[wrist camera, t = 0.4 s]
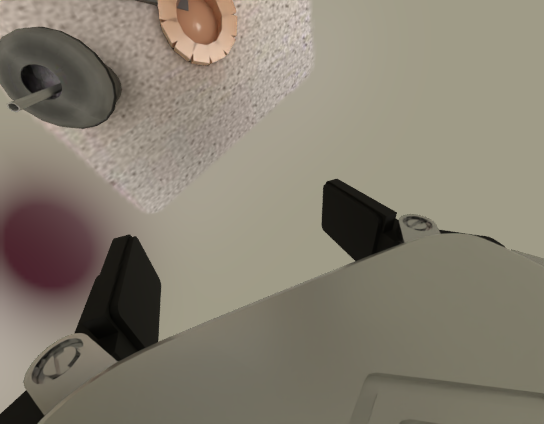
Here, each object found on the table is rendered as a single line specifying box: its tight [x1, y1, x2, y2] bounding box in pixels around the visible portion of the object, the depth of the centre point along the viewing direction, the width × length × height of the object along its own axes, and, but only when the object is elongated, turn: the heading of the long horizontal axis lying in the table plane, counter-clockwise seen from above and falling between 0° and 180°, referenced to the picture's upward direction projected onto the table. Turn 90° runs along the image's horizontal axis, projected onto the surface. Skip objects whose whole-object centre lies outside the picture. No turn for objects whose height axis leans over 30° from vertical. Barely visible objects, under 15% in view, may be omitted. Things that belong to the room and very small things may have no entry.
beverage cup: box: [0, 27, 122, 129], centre depth 19 cm, size 7×7×20 cm
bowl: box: [158, 0, 237, 66], centre depth 27 cm, size 9×9×4 cm
